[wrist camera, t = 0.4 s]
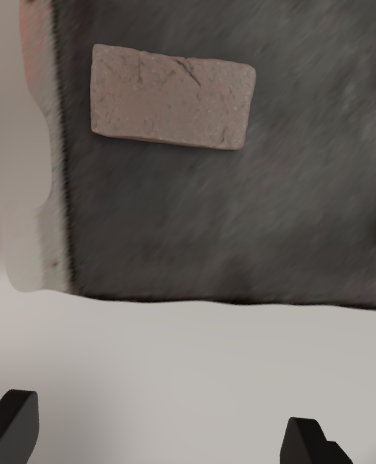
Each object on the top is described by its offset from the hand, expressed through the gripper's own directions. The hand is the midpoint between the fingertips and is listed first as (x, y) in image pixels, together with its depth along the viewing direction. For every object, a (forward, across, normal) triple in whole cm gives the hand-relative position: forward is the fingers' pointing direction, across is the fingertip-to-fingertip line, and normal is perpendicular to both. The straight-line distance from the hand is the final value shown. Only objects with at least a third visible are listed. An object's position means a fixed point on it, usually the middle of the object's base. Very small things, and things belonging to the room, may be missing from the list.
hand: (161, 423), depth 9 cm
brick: (+28, +2, -13) cm, 31 cm away
